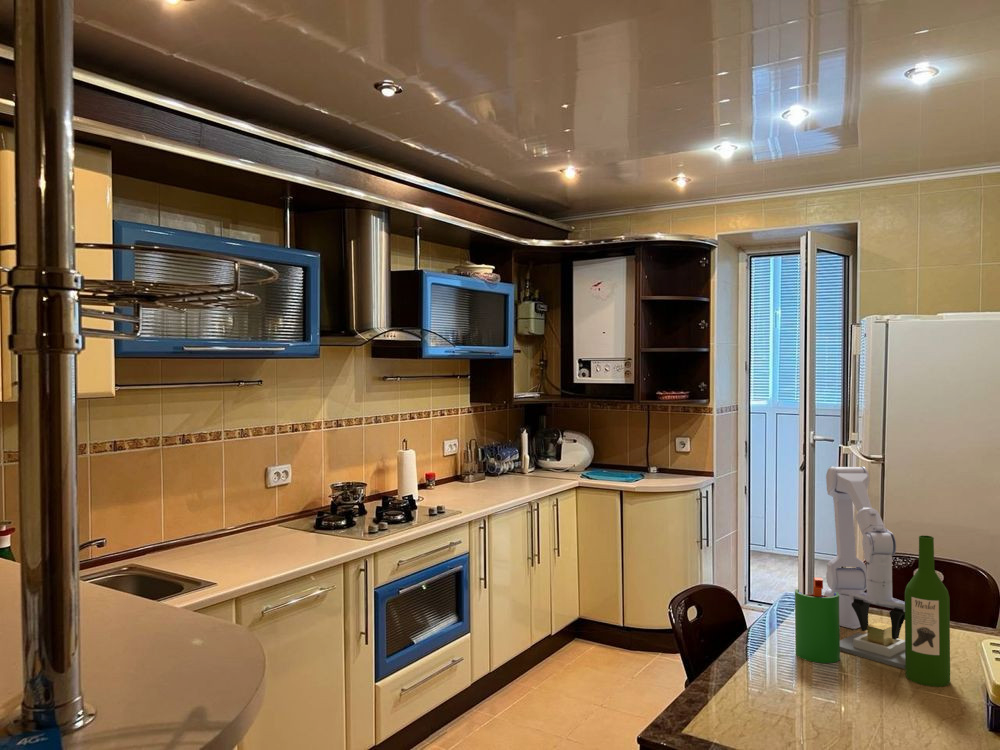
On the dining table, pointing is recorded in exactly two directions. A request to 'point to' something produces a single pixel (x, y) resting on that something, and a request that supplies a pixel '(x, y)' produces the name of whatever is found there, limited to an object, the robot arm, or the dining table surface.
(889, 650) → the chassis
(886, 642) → the tan rectangular block
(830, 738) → the dining table surface
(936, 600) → the wine bottle
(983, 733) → the dining table surface
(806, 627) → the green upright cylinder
